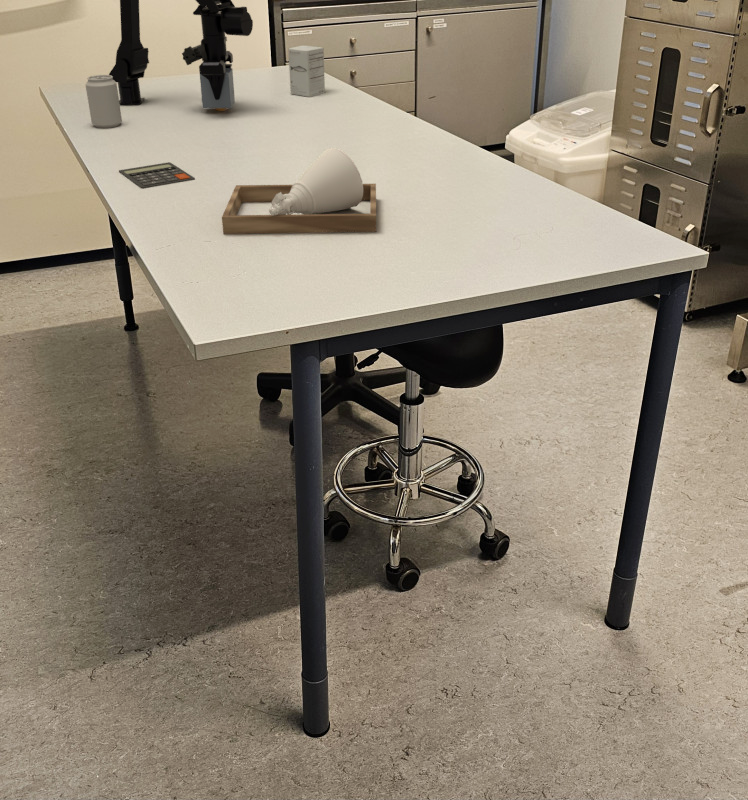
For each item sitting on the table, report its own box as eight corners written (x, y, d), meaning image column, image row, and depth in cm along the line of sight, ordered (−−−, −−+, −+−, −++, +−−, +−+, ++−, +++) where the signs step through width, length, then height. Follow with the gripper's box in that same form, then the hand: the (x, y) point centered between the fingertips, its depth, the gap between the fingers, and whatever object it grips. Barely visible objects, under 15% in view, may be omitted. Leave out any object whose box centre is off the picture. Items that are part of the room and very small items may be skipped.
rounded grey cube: (207, 102, 250) (204, 68, 246) (234, 102, 250) (232, 68, 246) (202, 108, 243) (199, 73, 239) (231, 108, 243) (228, 73, 239)
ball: (235, 100, 248) (222, 113, 250) (221, 86, 247) (208, 99, 248) (232, 104, 244) (219, 117, 246) (218, 89, 242) (205, 103, 244)
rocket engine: (258, 174, 158) (335, 136, 166) (239, 205, 168) (313, 167, 176) (297, 230, 158) (372, 188, 166) (276, 257, 168) (347, 217, 177)
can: (118, 128, 232) (110, 79, 226) (88, 128, 232) (80, 79, 226) (125, 121, 238) (118, 73, 232) (96, 121, 238) (89, 73, 232)
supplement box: (289, 94, 265) (287, 48, 259) (306, 90, 270) (304, 44, 264) (309, 97, 261) (307, 50, 255) (326, 93, 266) (324, 46, 260)
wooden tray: (237, 200, 179) (235, 185, 178) (376, 198, 179) (375, 183, 178) (223, 233, 163) (221, 217, 161) (376, 231, 163) (376, 215, 161)
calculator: (141, 186, 187) (118, 169, 198) (141, 191, 187) (118, 173, 198) (195, 177, 192) (169, 161, 203) (195, 181, 192) (170, 165, 204)
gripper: (188, 29, 246) (195, 89, 254) (175, 40, 230) (183, 104, 238) (230, 28, 246) (235, 89, 254) (220, 39, 230) (226, 103, 237)
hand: (219, 96), depth 246 cm, fingers closed on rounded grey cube, 7 cm apart
